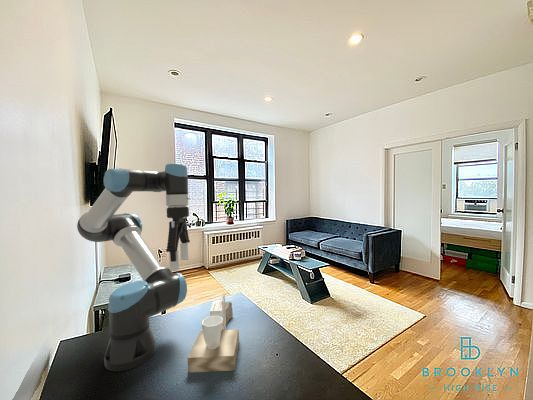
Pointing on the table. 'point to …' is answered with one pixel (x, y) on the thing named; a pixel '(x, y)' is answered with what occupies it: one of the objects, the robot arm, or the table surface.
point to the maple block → (214, 353)
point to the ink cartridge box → (219, 310)
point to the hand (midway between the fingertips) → (179, 264)
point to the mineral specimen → (228, 311)
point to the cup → (212, 331)
